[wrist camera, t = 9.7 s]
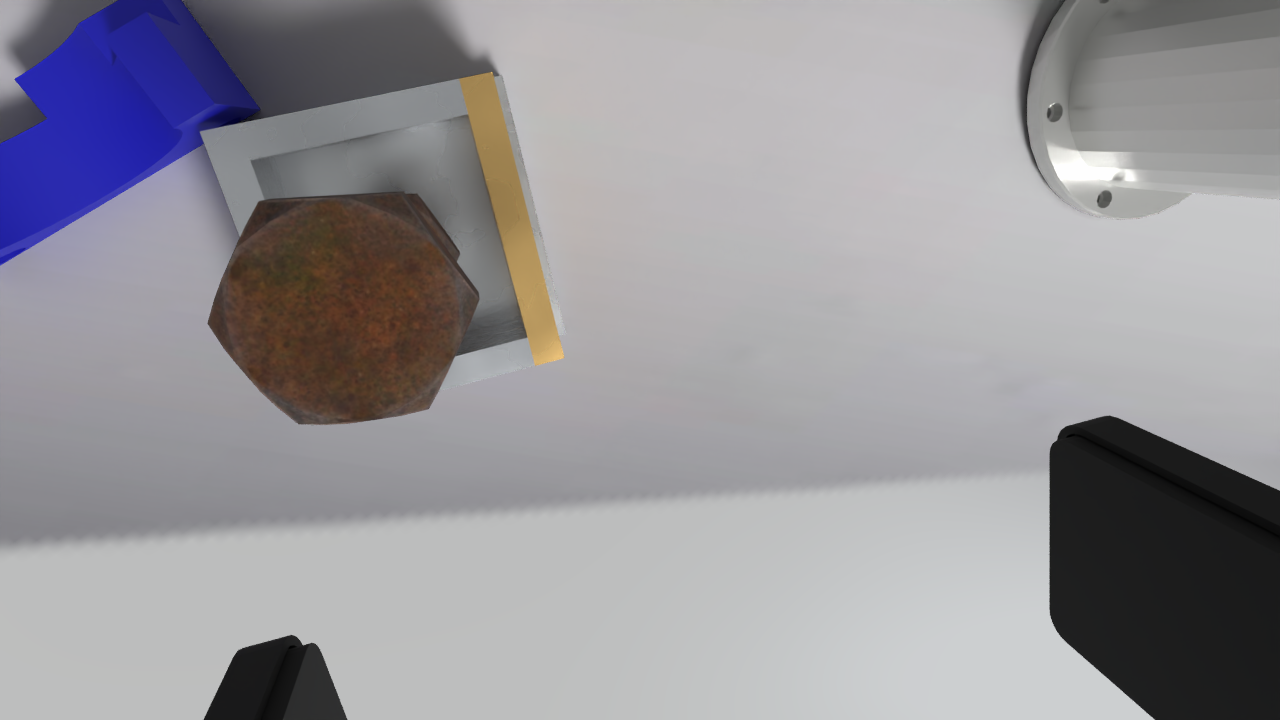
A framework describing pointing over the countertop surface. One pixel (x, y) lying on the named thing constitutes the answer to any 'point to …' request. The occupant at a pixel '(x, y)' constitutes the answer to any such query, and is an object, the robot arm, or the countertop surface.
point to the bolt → (344, 305)
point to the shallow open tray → (443, 178)
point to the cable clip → (112, 115)
